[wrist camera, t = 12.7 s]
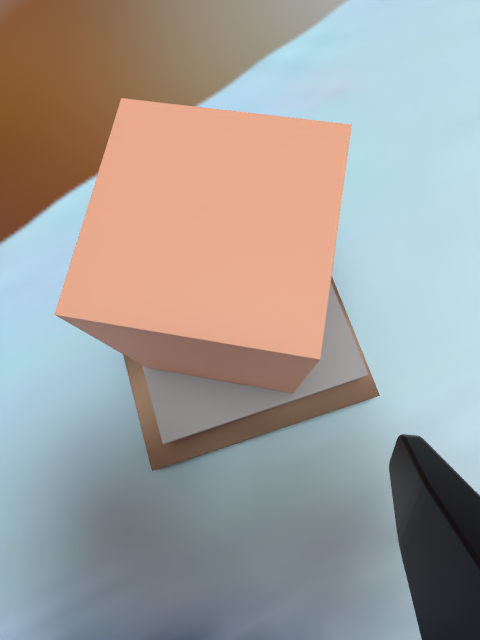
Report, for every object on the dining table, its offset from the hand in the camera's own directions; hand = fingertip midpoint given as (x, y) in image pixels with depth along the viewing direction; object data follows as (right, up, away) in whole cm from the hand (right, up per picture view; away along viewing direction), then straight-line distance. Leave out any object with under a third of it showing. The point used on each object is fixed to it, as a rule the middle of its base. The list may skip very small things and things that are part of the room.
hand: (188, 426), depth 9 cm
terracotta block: (+1, +3, +11) cm, 12 cm away
